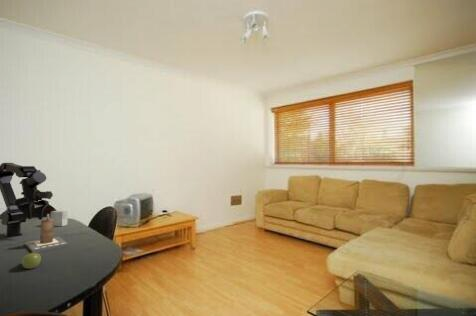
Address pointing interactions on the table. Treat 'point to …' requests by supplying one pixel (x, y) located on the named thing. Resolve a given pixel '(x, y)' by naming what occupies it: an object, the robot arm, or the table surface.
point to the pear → (31, 260)
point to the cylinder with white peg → (46, 230)
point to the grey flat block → (46, 245)
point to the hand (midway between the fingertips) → (35, 219)
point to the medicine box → (59, 218)
